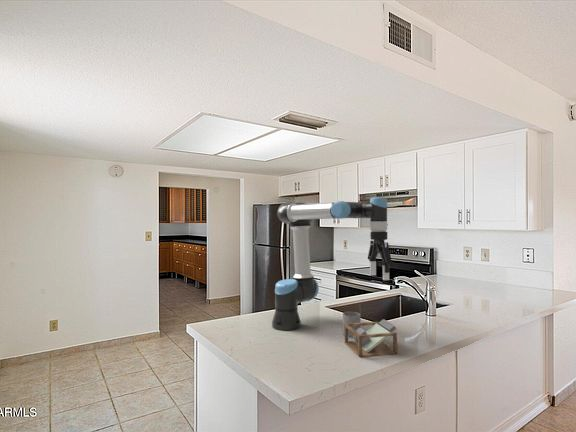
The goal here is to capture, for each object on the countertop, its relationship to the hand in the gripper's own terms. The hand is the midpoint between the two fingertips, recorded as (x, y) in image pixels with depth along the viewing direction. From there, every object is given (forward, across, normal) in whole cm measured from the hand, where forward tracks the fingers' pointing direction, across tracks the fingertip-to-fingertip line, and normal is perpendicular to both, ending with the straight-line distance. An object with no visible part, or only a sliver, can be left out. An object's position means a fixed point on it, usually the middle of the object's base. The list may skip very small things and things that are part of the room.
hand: (379, 277), depth 161 cm
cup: (+29, +10, +10) cm, 32 cm away
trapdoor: (+24, -7, +5) cm, 26 cm away
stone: (+26, -7, +11) cm, 29 cm away
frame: (+29, -7, +8) cm, 31 cm away
